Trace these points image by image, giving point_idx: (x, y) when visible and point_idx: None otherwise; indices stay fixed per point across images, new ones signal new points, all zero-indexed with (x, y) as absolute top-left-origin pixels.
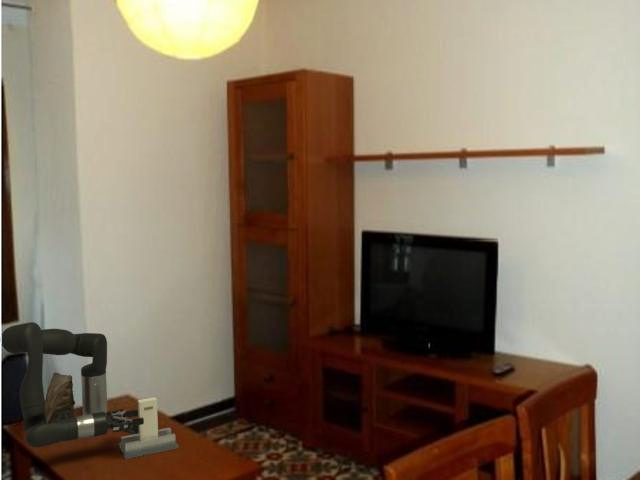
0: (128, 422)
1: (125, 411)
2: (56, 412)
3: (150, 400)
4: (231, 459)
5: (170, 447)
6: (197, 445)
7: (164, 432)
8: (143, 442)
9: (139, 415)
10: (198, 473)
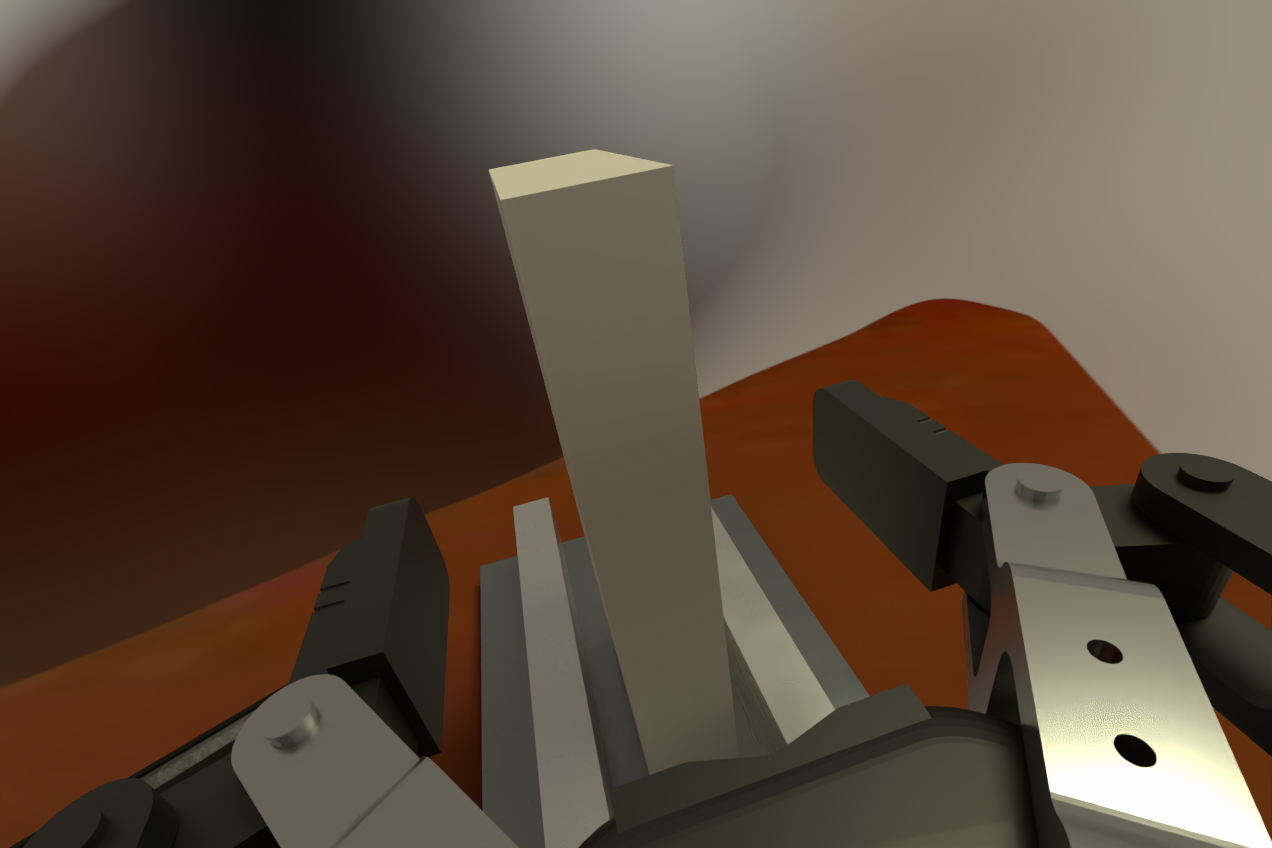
0: (1234, 494)
1: (356, 695)
2: None
3: (611, 153)
4: (881, 340)
5: (756, 533)
6: None
7: (559, 546)
8: (808, 676)
9: (675, 451)
10: (1096, 398)
